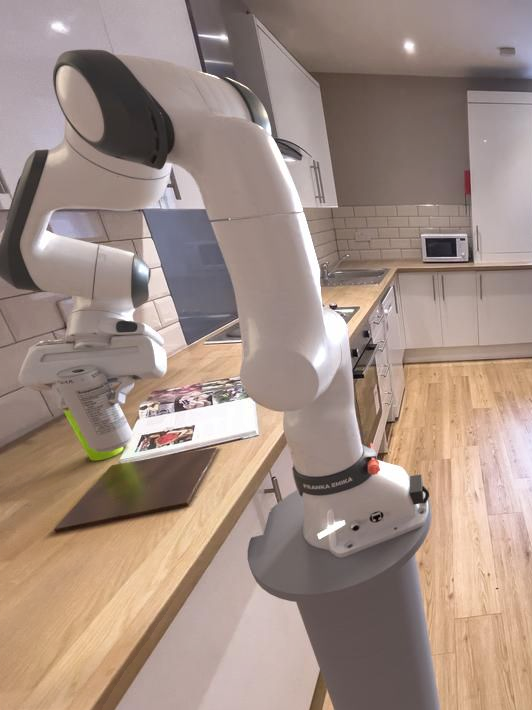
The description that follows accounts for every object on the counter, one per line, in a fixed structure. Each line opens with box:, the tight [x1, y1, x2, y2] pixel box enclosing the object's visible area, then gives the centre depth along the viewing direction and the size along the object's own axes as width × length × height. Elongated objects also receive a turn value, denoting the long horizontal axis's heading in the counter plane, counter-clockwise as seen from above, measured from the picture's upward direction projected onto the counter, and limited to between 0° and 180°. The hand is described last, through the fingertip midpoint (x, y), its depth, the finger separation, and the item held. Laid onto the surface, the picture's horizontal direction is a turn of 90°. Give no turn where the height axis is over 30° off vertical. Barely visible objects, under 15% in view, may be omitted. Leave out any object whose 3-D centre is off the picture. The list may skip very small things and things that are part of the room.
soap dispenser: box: [62, 410, 125, 462], centre depth 91 cm, size 6×7×20 cm
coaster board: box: [53, 446, 219, 533], centre depth 83 cm, size 20×20×1 cm
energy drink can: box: [56, 365, 134, 452], centre depth 72 cm, size 6×6×15 cm
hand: (92, 406), depth 71 cm, fingers closed on energy drink can, 6 cm apart
